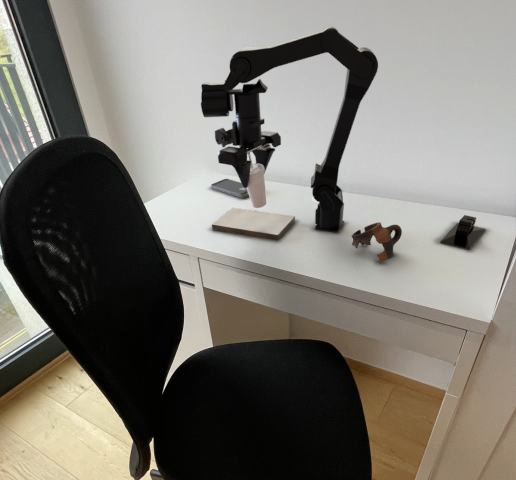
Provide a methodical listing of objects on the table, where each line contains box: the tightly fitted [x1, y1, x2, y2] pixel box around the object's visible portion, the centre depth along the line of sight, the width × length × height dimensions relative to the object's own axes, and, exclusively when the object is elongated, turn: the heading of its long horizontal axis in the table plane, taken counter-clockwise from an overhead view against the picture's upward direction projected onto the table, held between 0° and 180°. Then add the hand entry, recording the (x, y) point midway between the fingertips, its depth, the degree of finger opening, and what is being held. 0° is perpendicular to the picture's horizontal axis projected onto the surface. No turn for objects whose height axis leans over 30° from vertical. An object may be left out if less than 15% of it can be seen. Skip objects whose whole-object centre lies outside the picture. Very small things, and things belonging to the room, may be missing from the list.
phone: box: [210, 178, 249, 199], centre depth 134 cm, size 8×1×16 cm
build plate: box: [439, 214, 486, 251], centre depth 100 cm, size 12×7×5 cm, turn 141°
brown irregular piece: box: [351, 222, 403, 264], centre depth 96 cm, size 12×10×8 cm
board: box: [211, 207, 296, 241], centre depth 113 cm, size 20×12×2 cm, turn 65°
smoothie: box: [246, 152, 267, 209], centre depth 104 cm, size 6×6×14 cm
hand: (253, 183), depth 104 cm, fingers closed on smoothie, 6 cm apart
